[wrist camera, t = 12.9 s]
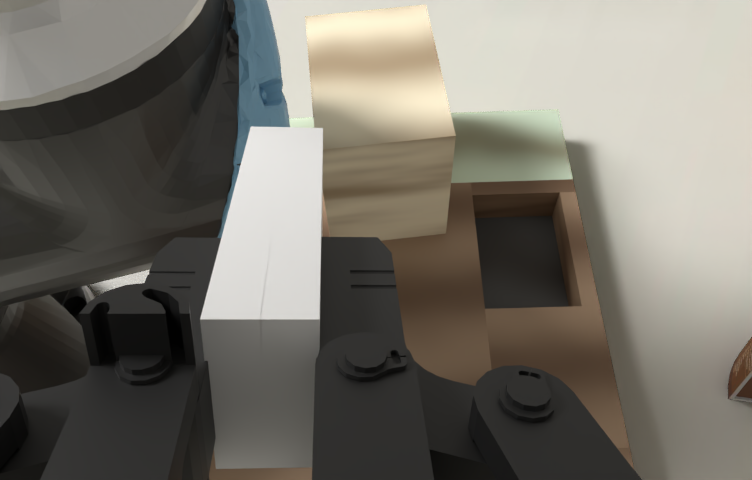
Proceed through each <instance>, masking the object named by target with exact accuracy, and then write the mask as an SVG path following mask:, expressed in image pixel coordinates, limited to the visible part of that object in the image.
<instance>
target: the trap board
mask: <svg viewBox="0 0 752 480" xmlns="http://www.w3.org/2000/svg"><path fill="white" fill-rule="evenodd" d="M451 117H452V121H453V126H454V130H455V134H456V138H455V148H454V158H453V168H452V178H451V188H450V198H449V208H448V218H447V228H446V234H437V235H428V236H419V237H410V238H400V239H391V240H382V241H381V242H382V243H383V244H384V245H385V246H386V247H387V248H388V249H389V250H390V252H391V253H392V259H393V266H394V274H395V279H396V289H397V292H398V299H399V306H400V312H401V319H402V326H403V333H404V339H405V344H406V347H407V349H408V350H409V351H410V352H411V355H412V357H413V359H414V361H415V362H417V363H418V364H419V365H420V366H421V367H423V368H424V369H425V370H427V371H429V372H431V373H433V374H435V375H437V376H439V377H442V378H446V379H449V380H452V381H456V382H460V383H465V384H469V385H473V386H476V382H477V381H478V380H479V379H480V378H481V377H482V376H483V375H484V374H485V373H486V372H487V371H490V370H493V369H495V368H498V367H501V366H513V365H523V366H528V367H532V368H537V369H541V370H543V371H545V372H547V373H549V374H551V375H553V376H555V377H557V378H559V379H560V380H561V381H563V382H564V383H565V384H566V385H567V386H568V387H569V388H570V389H571V390H572V391H573V392H574V393H575V394H576V396H577V397H578V398H579V399H580V401H581V402H582V403H583V405H584V406H585V407H586V409H587V410H588V411H589V412H590V414H591V415H592V416H593V418H594V419H595V420H596V421H597V423H598V424H599V425H600V427H601V428H602V429H603V430H604V432H605V433H606V434H607V436H608V437H609V438H610V439H611V441H612V442H613V443H614V445H615V446H616V447H617V449H618V450H619V451H620V452H621V454H622V455H623V456H624V458H625V459H626V460H627V461H628V463H629V464H630V465H631V467H632V468H633V469H634V466H633V461H632V456H631V451H630V447H629V442H628V437H627V433H626V428H625V423H624V418H623V414H622V409H621V404H620V399H619V395H618V390H617V385H616V380H615V376H614V371H613V366H612V362H611V357H610V352H609V347H608V343H607V338H606V333H605V328H604V324H603V319H602V314H601V309H600V305H599V300H598V295H597V291H596V286H595V281H594V276H593V272H592V267H591V262H590V257H589V253H588V248H587V243H586V239H585V234H584V229H583V224H582V220H581V215H580V210H579V205H578V201H577V196H576V191H575V186H574V182H573V177H572V172H571V168H570V163H569V158H568V153H567V149H566V144H565V139H564V134H563V130H562V125H561V120H560V115H559V111H558V109H555V110H524V111H494V112H463V113H451ZM289 123H290V127H301V128H314V119H313V117H310V118H289ZM322 237H330V233H329V227H328V221H327V214H326V208H325V202H324V196H323V206H322ZM209 479H210V480H312V467H305V468H242V469H216V465H215V455H214V450H213V455H212V461H211V466H210V472H209Z"/></svg>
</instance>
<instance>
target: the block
mask: <svg viewBox="0 0 752 480" xmlns="http://www.w3.org/2000/svg"><path fill="white" fill-rule="evenodd" d="M305 21H306V33H307V45H308V57H309V70H310V82H311V94H312V107H313V119H314V128H323V196H324V202H325V208H326V214H327V221H328V227H329V233H330V237H378V238H379V239H380V240H381V241H382V240H391V239H400V238H410V237H419V236H428V235H437V234H446V228H447V218H448V208H449V198H450V188H451V178H452V168H453V158H454V148H455V138H456V134H455V130H454V126H453V121H452V117H451V112H450V108H449V104H448V99H447V95H446V90H445V86H444V82H443V77H442V73H441V68H440V64H439V59H438V55H437V51H436V46H435V42H434V37H433V33H432V29H431V24H430V20H429V15H428V11H427V6H426V5H417V6H407V7H396V8H386V9H376V10H366V11H356V12H346V13H336V14H326V15H316V16H305Z"/></svg>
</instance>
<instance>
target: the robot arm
mask: <svg viewBox="0 0 752 480" xmlns="http://www.w3.org/2000/svg"><path fill="white" fill-rule="evenodd" d="M282 86H283V83H282V77H281V64H280V56H279V51H278V46H277V41H276V36H275V32H274V28H273V23H272V19H271V15H270V11H269V7H268V4H267V0H0V480H210V479H209V472H210V466H211V461H212V455H213V450H214V455H215V465H216V469H242V468H305V467H312V480H642V479H641V478H640V477H639V476H638V474H637V473H636V472H635V470H634V469H633V468H632V467H631V465H630V464H629V463H628V461H627V460H626V459H625V458H624V456H623V455H622V454H621V452H620V451H619V450H618V449H617V447H616V446H615V445H614V443H613V442H612V441H611V439H610V438H609V437H608V436H607V434H606V433H605V432H604V430H603V429H602V428H601V427H600V425H599V424H598V423H597V421H596V420H595V419H594V418H593V416H592V415H591V414H590V412H589V411H588V410H587V409H586V407H585V406H584V405H583V403H582V402H581V401H580V399H579V398H578V397H577V396H576V394H575V393H574V392H573V391H572V390H571V389H570V388H569V387H568V386H567V385H566V384H565V383H564V382H563V381H561V380H560V379H559V378H557V377H555V376H553V375H551V374H549V373H547V372H545V371H543V370H541V369H537V368H532V367H528V366H523V365H513V366H501V367H498V368H495V369H493V370H490V371H487V372H486V373H485V374H484V375H483V376H482V377H481V378H480V379H479V380H478V381H477V382H476V386H473V385H469V384H465V383H460V382H456V381H452V380H449V379H446V378H442V377H439V376H437V375H435V374H433V373H431V372H429V371H427V370H425V369H424V368H423V367H421V366H420V365H419V364H418V363H417V362H415V361H414V359H413V357H412V355H411V352H410V351H409V350H408V349H407V347H406V344H405V339H404V333H403V326H402V319H401V312H400V306H399V299H398V292H397V289H396V279H395V274H394V266H393V259H392V253H391V252H390V250H389V249H388V248H387V247H386V246H385V245H384V244H383V243H382V242H381V240H380V239H379V238H378V237H322V206H323V128H301V127H290V123H289V115H288V108H287V103H286V100H285V97H284V95H283V93H282ZM149 269H150V271H149V275H148V276H147V278H146V281H145V283H142V284H133V285H125V286H122V287H119V288H116V289H112V290H109V291H106V292H104V293H103V294H101V295H99V296H98V297H95V295H94V294H93V293H92V292H91V290H90V289H89V288H88V287H87V285H90V284H94V283H98V282H102V281H106V280H110V279H113V278H117V277H121V276H125V275H129V274H133V273H137V272H141V271H145V270H149Z"/></svg>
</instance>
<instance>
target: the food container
mask: <svg viewBox="0 0 752 480" xmlns="http://www.w3.org/2000/svg"><path fill="white" fill-rule="evenodd" d="M728 399H732V400H738V401H745V402H751V403H752V337H751V339H750V340H749V341H748V343H747V344H746V346H745V347H744V348H743V350H742V351H741V352H740V354H739V355H738V357H737V359H736V360H735V362H734V364H733V367H732V369H731V372H730V376H729V383H728Z"/></svg>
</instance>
